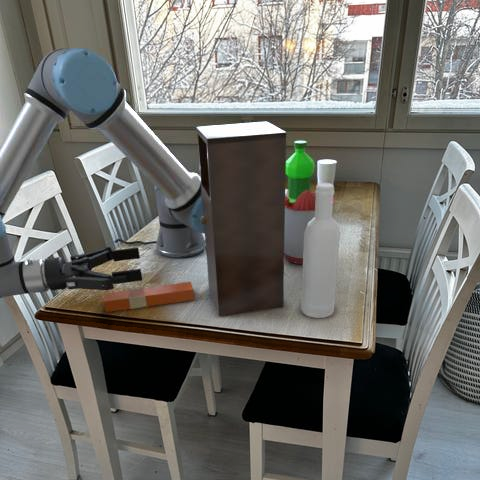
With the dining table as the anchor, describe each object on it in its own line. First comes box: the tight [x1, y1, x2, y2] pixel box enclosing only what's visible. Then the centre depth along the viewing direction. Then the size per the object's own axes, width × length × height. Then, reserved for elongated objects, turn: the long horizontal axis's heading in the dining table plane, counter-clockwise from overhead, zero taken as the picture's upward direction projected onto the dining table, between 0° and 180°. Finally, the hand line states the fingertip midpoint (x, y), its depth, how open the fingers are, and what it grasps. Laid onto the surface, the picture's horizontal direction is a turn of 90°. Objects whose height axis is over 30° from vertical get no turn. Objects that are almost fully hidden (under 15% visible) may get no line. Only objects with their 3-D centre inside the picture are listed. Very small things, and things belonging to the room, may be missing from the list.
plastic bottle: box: [286, 140, 316, 203], centre depth 164 cm, size 10×10×25 cm
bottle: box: [300, 183, 341, 319], centre depth 104 cm, size 8×8×30 cm
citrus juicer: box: [284, 190, 336, 265], centre depth 133 cm, size 16×17×20 cm
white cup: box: [316, 158, 338, 186], centre depth 197 cm, size 8×8×10 cm
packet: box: [103, 281, 195, 313], centre depth 117 cm, size 22×5×3 cm, turn 103°
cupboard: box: [196, 121, 287, 317], centre depth 107 cm, size 17×14×40 cm
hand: (140, 263), depth 112 cm, fingers open, 12 cm apart
